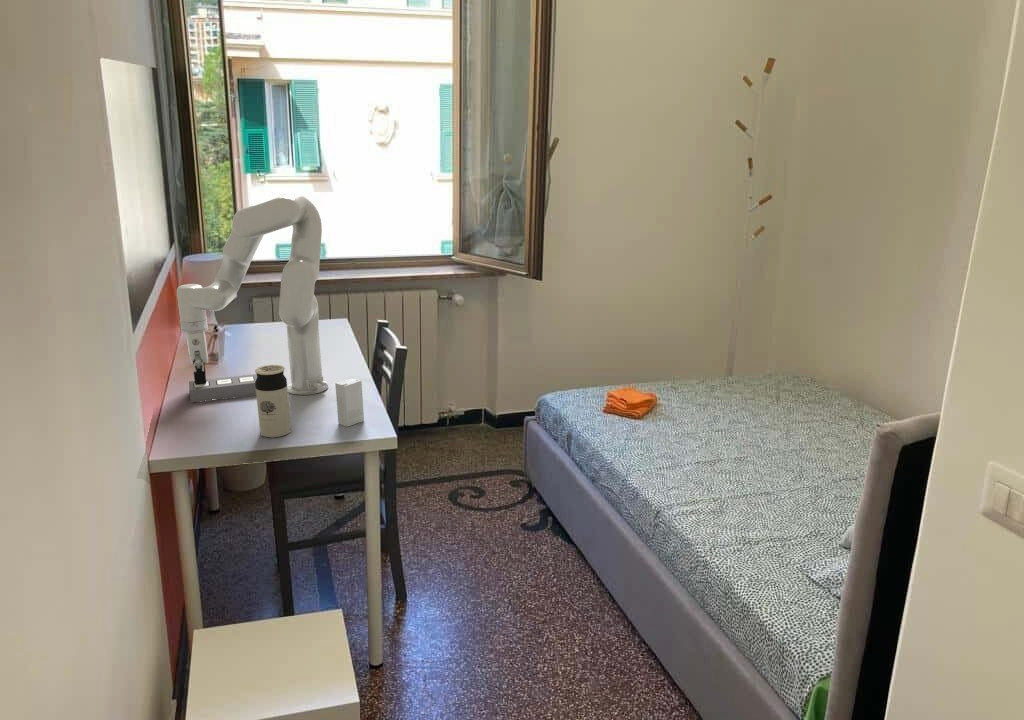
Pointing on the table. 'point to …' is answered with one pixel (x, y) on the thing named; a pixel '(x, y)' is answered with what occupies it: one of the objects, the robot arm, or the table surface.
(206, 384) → the button
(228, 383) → the middle button
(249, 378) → the button
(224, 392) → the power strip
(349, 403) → the skincare box
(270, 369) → the travel mug
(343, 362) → the table surface
